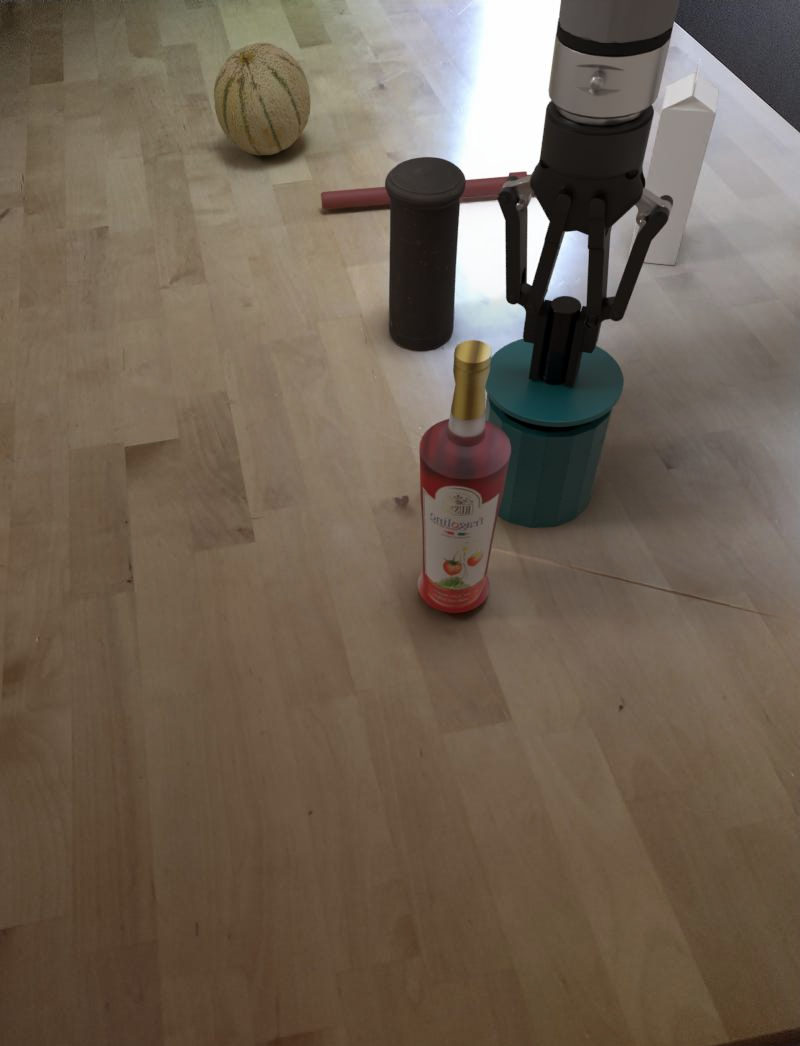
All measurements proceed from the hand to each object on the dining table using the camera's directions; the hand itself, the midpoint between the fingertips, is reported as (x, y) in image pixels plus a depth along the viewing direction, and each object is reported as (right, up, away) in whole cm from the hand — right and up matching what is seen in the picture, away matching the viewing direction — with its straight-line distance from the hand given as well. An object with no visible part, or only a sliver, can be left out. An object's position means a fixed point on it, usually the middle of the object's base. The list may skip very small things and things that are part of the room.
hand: (553, 373), depth 82 cm
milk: (+23, +27, +36) cm, 51 cm away
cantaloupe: (-30, +53, +60) cm, 86 cm away
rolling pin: (+1, +39, +47) cm, 61 cm away
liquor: (-9, -20, +5) cm, 22 cm away
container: (-9, +14, +30) cm, 34 cm away
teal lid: (0, 0, +1) cm, 1 cm away
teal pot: (+1, -9, +12) cm, 15 cm away
